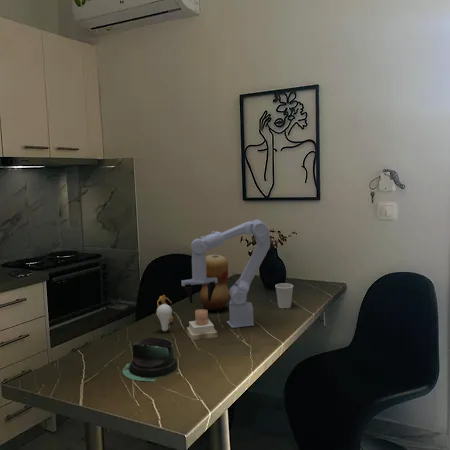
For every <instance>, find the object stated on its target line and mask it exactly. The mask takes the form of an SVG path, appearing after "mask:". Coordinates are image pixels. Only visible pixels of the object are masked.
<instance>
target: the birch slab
mask: <svg viewBox="0 0 450 450" xmlns="http://www.w3.org/2000/svg"><path fill="white" fill-rule="evenodd" d="M186 333H187V334H188V337H189V338H190V339H191V340H192V341H196V340H202V339H203V340H205V339H212V338H218V331H217V330H216V329H215V328H214V332H207V333H200V334H193V332H192V331H191V329H190V328H189V326H186Z"/></svg>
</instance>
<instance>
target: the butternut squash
mask: <svg viewBox="0 0 450 450" xmlns="http://www.w3.org/2000/svg"><path fill="white" fill-rule="evenodd" d="M205 257H206V276H207V278H217V280H218V283H215V284H216V286H215V288H214V291H213V293H212V297H211V301H208V287H207V284H201V285H202V287H201V289H200V291H199V301H200V304H201V305H202V307H204V309H206V310H209V311H219V310H222V309H223V307H225V306H226V305H227V304H229V303H228V302H230V295H229V290H230V288H229V286H228V284H227V283H228V277H229V261H228V258H226V257H225V256H224V255H223V256H222V255H220V254H215V253H214V254H208V255H205Z"/></svg>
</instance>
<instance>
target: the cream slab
mask: <svg viewBox="0 0 450 450" xmlns="http://www.w3.org/2000/svg"><path fill="white" fill-rule="evenodd" d="M188 323H189V324H188V327H189V328H190V329H191V331H192V332H193V334H200V333H207V332H214V329H215V325H214V323H213V322H212V321H211V320H210V319H209V318H208V324H206V325H196V321H195V320H191V321H188Z"/></svg>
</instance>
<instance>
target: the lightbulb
mask: <svg viewBox="0 0 450 450" xmlns="http://www.w3.org/2000/svg"><path fill="white" fill-rule="evenodd" d="M172 314H173V310H172V307H171V306H170V305H168V304H167V305H166V304H162V303H161V304H159V307H158V306H157V308H156V316H157V317H158V319H159V323H160V326H161V331H163V332H167V331H169V324H170V323H169V319H170V317H171V315H172ZM172 316H173V315H172Z"/></svg>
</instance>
